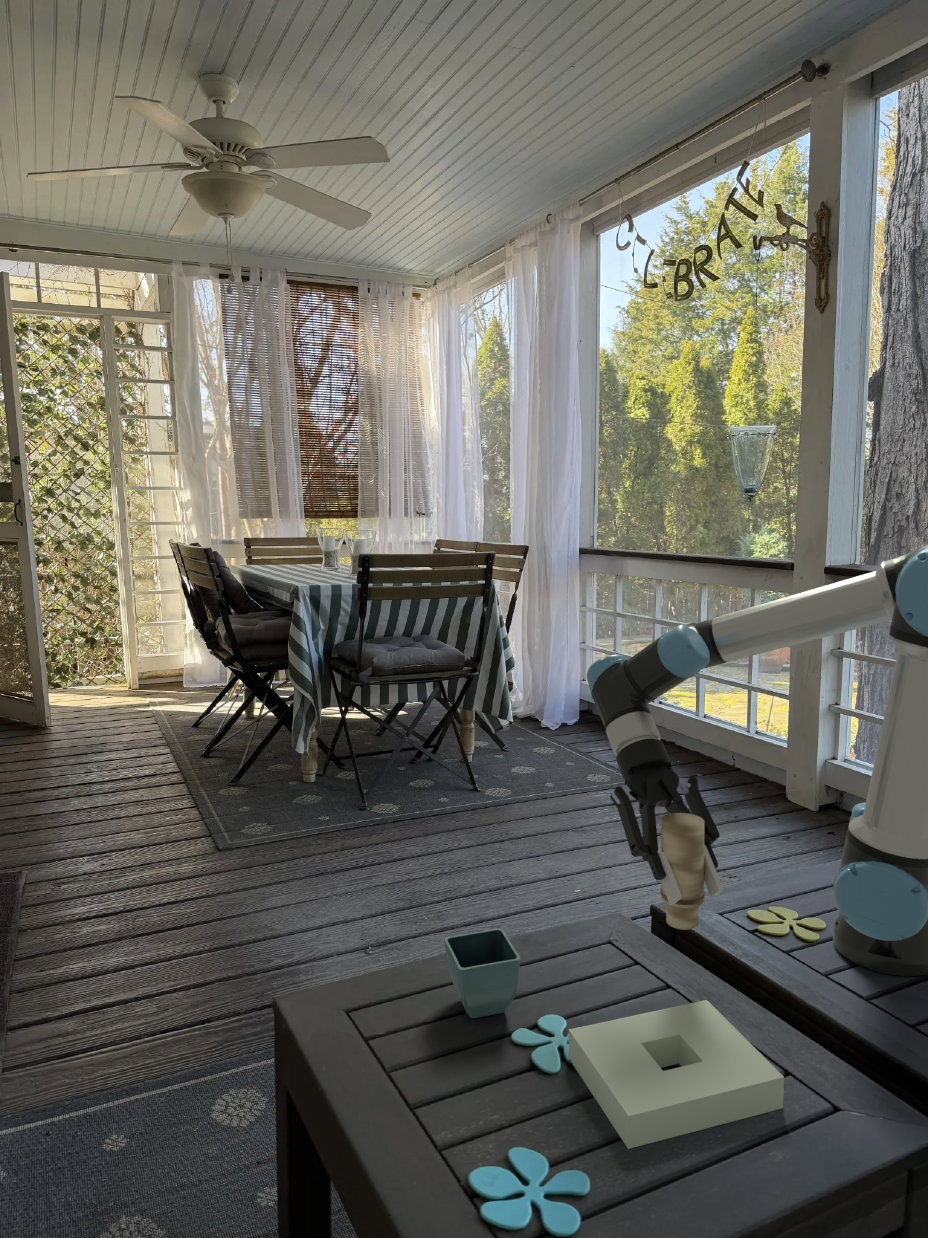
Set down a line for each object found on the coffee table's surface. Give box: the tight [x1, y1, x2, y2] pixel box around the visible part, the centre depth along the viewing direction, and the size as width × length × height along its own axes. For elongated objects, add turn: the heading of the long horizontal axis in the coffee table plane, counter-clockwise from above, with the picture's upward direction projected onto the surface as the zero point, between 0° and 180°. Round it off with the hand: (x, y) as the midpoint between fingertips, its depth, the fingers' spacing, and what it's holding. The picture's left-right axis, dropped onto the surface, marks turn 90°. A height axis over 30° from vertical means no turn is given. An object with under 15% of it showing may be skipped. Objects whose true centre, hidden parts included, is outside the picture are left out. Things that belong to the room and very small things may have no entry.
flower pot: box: [444, 928, 521, 1019], centre depth 120 cm, size 9×9×9 cm
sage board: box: [568, 999, 785, 1150], centre depth 104 cm, size 20×16×4 cm
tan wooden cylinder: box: [660, 813, 706, 931], centre depth 120 cm, size 6×6×15 cm
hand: (696, 897), depth 117 cm, fingers closed on tan wooden cylinder, 6 cm apart
